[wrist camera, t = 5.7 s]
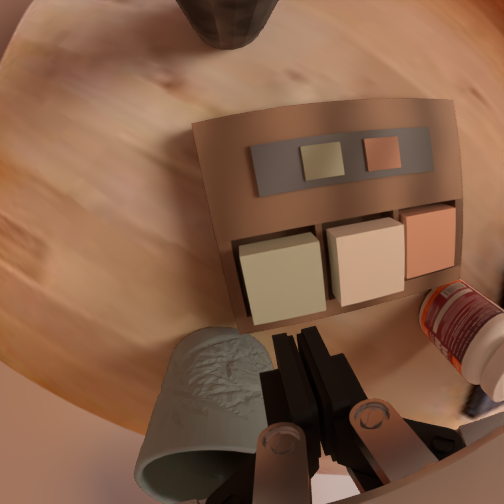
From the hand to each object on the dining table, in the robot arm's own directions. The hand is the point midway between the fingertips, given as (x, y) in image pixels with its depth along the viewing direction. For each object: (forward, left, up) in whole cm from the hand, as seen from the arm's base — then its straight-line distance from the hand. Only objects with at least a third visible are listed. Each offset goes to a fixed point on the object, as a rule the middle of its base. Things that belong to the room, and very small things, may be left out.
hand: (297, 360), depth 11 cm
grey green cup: (+5, +9, -12) cm, 16 cm away
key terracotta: (-12, 0, -10) cm, 15 cm away
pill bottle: (-16, +8, -12) cm, 21 cm away
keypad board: (-6, -3, -11) cm, 13 cm away
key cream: (-6, 0, -9) cm, 11 cm away
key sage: (-1, 0, -9) cm, 9 cm away
